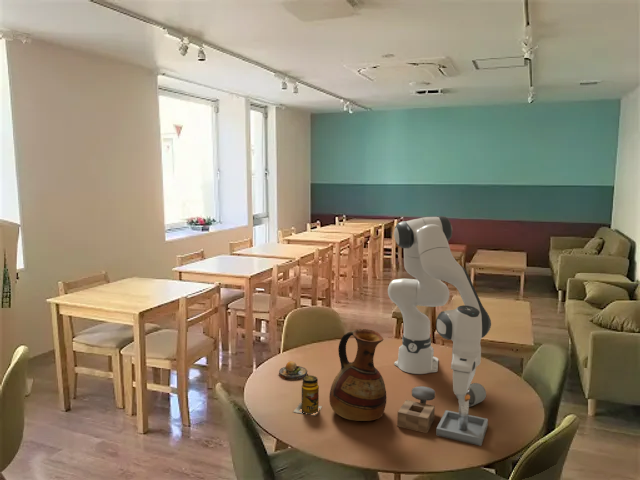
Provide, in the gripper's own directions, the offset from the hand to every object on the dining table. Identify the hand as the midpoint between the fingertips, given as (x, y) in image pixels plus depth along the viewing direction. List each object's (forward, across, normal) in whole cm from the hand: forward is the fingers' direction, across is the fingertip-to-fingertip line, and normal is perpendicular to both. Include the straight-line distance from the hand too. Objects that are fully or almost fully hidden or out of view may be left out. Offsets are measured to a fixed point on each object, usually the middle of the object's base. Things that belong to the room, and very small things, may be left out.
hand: (464, 397), depth 162 cm
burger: (+12, -15, -72) cm, 74 cm away
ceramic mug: (+12, -22, -2) cm, 25 cm away
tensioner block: (+11, -2, -15) cm, 19 cm away
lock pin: (+11, 0, 0) cm, 11 cm away
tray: (+11, 0, 0) cm, 11 cm away
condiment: (+12, +10, -52) cm, 54 cm away
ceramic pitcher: (+12, +5, -35) cm, 37 cm away
